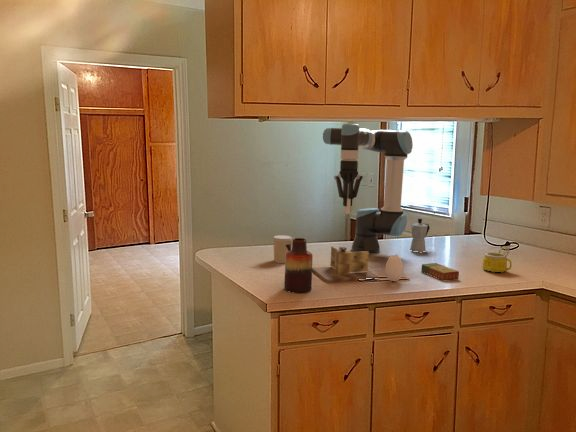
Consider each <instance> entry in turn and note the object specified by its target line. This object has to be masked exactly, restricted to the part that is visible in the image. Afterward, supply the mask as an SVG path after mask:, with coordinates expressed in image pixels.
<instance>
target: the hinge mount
mask: <svg viewBox="0 0 576 432" xmlns="http://www.w3.org/2000/svg"><path fill="white" fill-rule="evenodd" d="M330 247H331V248H330V266H319V267H312V273H313V274H315V275H317V276H318V278H320V279H322V280H323V281H324V282H326V283H343V282H346V283H347V282H356V281H355V280H359V279H366V278H379V277H380V276H379V275H376V273H373V272H371V271H370V270H369V255H370V254H369V251H362V252H354V251H349V250H345V252H340V251H341V250H339V249H338V248H336V247H334V246H330Z"/></svg>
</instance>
